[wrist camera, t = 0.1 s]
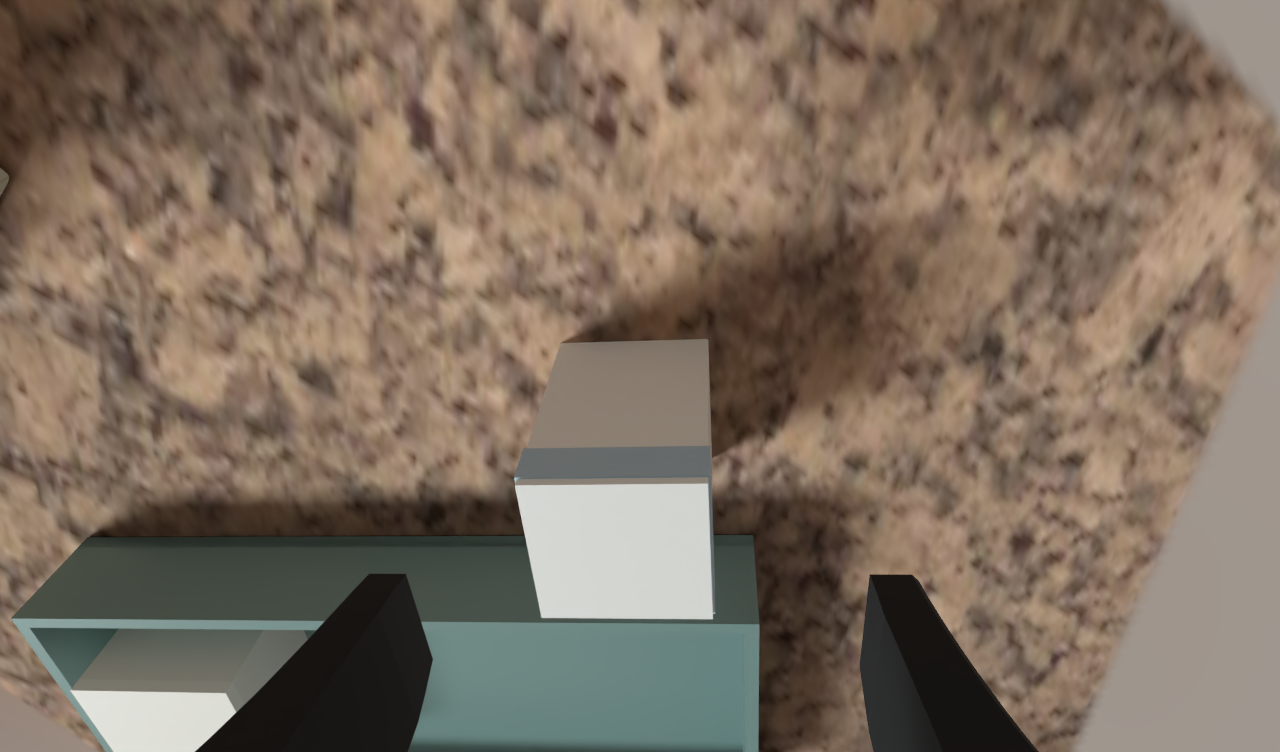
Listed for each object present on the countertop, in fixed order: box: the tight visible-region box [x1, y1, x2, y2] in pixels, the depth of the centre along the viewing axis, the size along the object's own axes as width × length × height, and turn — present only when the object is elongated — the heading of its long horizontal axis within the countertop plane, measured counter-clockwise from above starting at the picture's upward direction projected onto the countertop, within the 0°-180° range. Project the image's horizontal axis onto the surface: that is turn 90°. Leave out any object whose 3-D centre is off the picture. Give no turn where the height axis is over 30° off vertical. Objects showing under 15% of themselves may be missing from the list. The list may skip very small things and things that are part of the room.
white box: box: [70, 628, 308, 752], centre depth 27 cm, size 8×5×4 cm, turn 4°
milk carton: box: [514, 339, 715, 619], centre depth 20 cm, size 4×4×6 cm
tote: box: [11, 535, 759, 752], centre depth 27 cm, size 12×22×4 cm, turn 94°
